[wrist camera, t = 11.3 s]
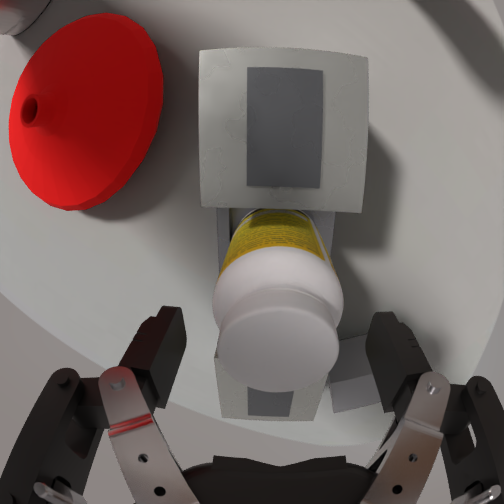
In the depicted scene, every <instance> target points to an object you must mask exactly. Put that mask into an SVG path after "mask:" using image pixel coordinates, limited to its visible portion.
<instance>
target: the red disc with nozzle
mask: <svg viewBox="0 0 504 504" xmlns="http://www.w3.org/2000/svg"><path fill="white" fill-rule="evenodd" d="M162 106H163V73H162V69H161V65H160V61H159V57H158V53H157V50H156V46H155V45H154V43H153V42H152V40H151V39H150V37H149V36H148V34H147V33H146V31H145V30H144V28H143V27H141V26H140V25H139V24H137V23H136V22H134V21H133V20H131V19H129V18H128V17H126V16H122V15H117V14H112V13H100V14H94V15H88V16H85V17H82V18H80V19H78V20H76V21H74V22H72V23H70V24H68V25H66V26H64V27H62V28H61V29H59V30H58V31H57V32H56V33H54V34H53V35H52V36H51V37H49V38H48V39H47V40H46V41H45V42H44V43H43V44H42V45H41V46H40V47H39V49H38V50H37V51H36V52H35V53H34V55H33V56H32V57H31V59H30V60H29V62H28V64H27V65H26V67H25V69H24V71H23V73H22V74H21V76H20V78H19V81H18V84H17V86H16V89H15V92H14V95H13V98H12V103H11V109H10V116H9V143H10V148H11V153H12V157H13V161H14V163H15V166H16V168H17V170H18V173H19V175H20V177H21V179H22V180H23V181H24V183H25V184H26V185H27V187H28V188H29V189H30V190H31V192H33V193H34V194H35V195H36V196H38V197H39V198H40V199H42V200H43V201H44V202H46V203H47V204H49V205H50V206H53V207H56V208H60V209H63V210H66V211H72V210H86V209H89V208H91V207H93V206H96V205H98V204H100V203H103V202H105V201H106V200H108V199H109V198H110V197H111V196H112V195H113V194H115V193H116V192H117V191H118V190H120V189H121V188H122V187H123V186H124V185H125V184H126V182H127V181H128V180H129V178H130V177H131V176H132V174H133V173H134V172H135V170H136V169H137V168H138V166H139V165H140V164H141V162H142V161H143V159H144V158H145V156H146V153H147V151H148V149H149V147H150V145H151V142H152V140H153V138H154V136H155V134H156V132H157V127H158V123H159V119H160V115H161V110H162Z"/></svg>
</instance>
